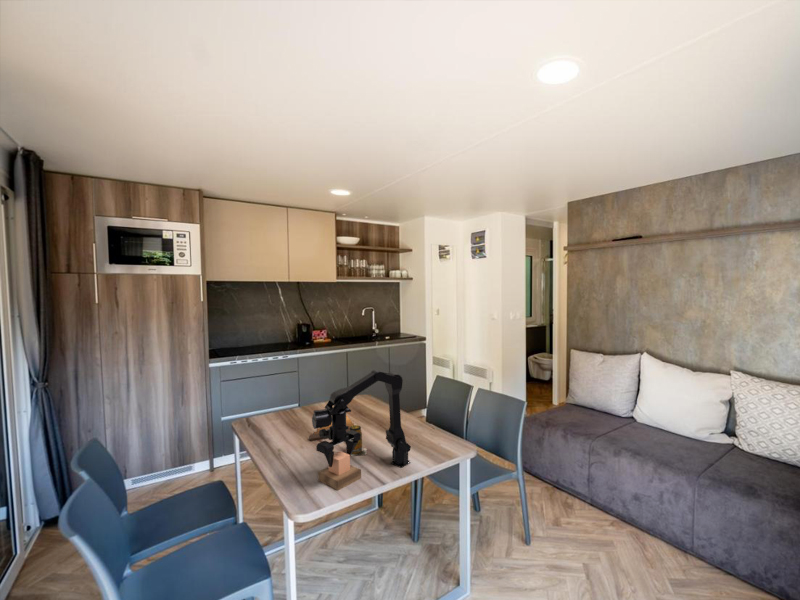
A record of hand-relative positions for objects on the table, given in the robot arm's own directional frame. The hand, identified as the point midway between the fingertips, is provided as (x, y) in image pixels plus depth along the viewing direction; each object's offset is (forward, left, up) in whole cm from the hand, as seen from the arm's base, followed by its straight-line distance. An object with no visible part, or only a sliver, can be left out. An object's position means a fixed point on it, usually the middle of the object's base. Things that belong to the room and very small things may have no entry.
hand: (339, 462), depth 147 cm
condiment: (+13, -22, -7) cm, 26 cm away
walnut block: (0, 0, -7) cm, 7 cm away
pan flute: (+46, -32, -8) cm, 57 cm away
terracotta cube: (0, 0, -3) cm, 3 cm away
